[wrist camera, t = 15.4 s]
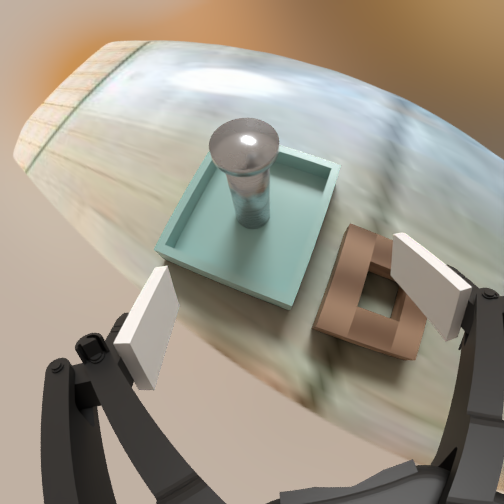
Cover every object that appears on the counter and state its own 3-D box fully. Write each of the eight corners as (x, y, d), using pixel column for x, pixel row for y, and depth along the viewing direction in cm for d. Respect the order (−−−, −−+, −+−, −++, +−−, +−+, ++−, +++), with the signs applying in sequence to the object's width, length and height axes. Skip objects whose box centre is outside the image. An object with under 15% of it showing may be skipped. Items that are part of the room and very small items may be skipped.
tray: (225, 146, 39) (222, 130, 36) (335, 180, 36) (341, 165, 33) (164, 259, 34) (153, 249, 30) (289, 310, 31) (292, 306, 28)
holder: (344, 233, 34) (350, 223, 31) (426, 267, 31) (438, 260, 29) (311, 328, 30) (315, 326, 27) (403, 360, 28) (415, 360, 25)
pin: (241, 187, 35) (227, 112, 23) (283, 201, 34) (288, 127, 22) (221, 226, 34) (196, 159, 21) (266, 242, 33) (263, 178, 20)
